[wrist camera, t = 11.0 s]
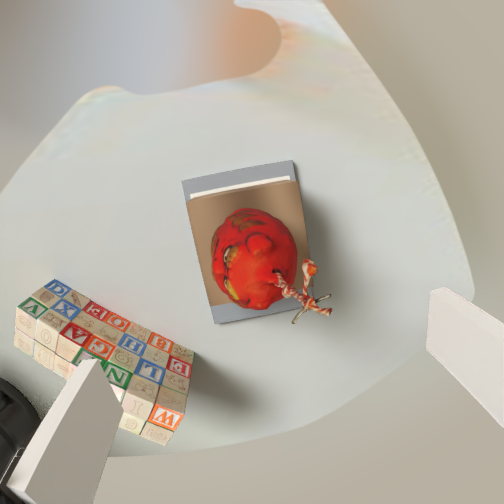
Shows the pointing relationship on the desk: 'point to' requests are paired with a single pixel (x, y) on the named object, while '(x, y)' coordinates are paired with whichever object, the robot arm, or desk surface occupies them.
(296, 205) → the plinth
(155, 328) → the desk surface
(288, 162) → the board
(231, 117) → the desk surface
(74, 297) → the stack of blocks
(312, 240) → the desk surface
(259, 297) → the red clay folk toy
